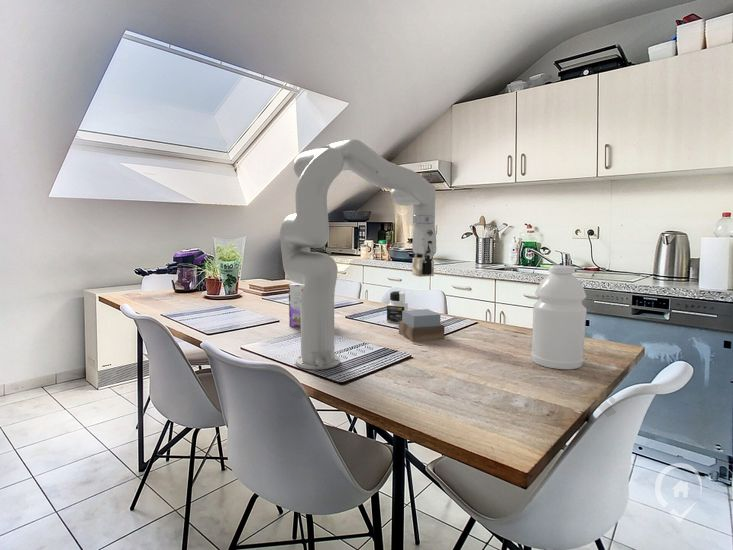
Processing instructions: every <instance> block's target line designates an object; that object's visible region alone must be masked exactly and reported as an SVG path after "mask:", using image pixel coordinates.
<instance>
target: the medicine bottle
mask: <svg viewBox="0 0 733 550" xmlns="http://www.w3.org/2000/svg"><path fill="white" fill-rule="evenodd" d="M408 305H409V303H408V302H406V293H405V292H404V291H391V292H390V293H389V303H388V304H387V305H386V322H387V323H395V324H399V321H402V311H405V310H409V309H408Z"/></svg>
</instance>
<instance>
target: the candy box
mask: <svg viewBox="0 0 733 550" xmlns="http://www.w3.org/2000/svg"><path fill="white" fill-rule="evenodd" d="M303 289H304V284H299V283H295V282H292V283H290V284H288V312H289V313H288V315H289V318H288V320H289V321H288V322H289V325H288V327H292V328H296V327H299V328H301V314H300V301H301V295H302V292H303Z"/></svg>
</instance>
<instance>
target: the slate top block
mask: <svg viewBox="0 0 733 550" xmlns="http://www.w3.org/2000/svg"><path fill="white" fill-rule="evenodd" d="M402 322H404V323H405V324H407V325H409V326H411V327H413V328H420V327H433V326H440V324H441V314H440V313H438V312H435V311H433V310H431V309H429V308H426V309H425V308H424V309H408V310H405V311H402Z"/></svg>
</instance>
